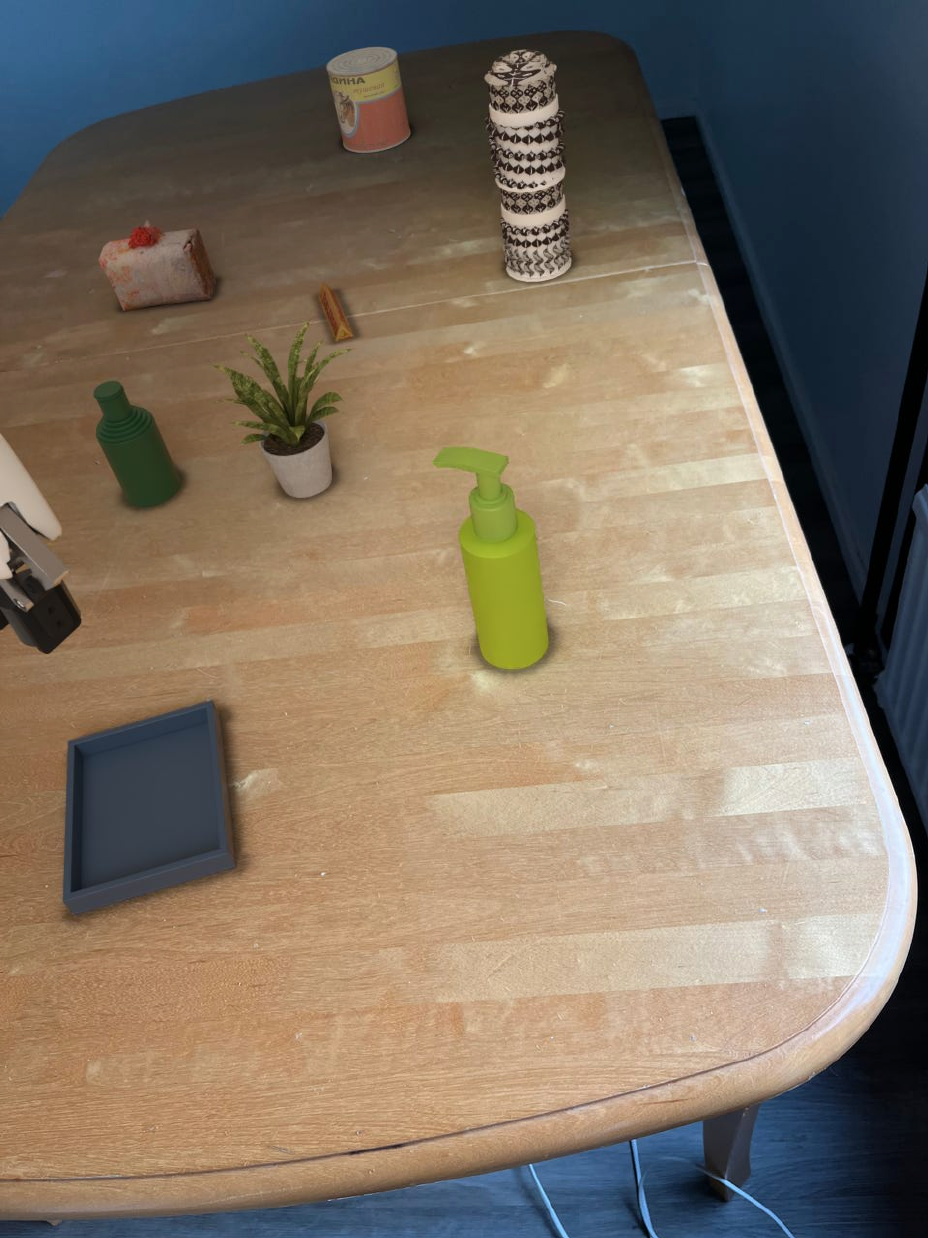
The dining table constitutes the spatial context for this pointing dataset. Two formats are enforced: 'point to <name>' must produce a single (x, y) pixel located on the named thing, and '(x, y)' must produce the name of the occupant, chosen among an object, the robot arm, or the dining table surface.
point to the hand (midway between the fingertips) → (36, 624)
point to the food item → (158, 268)
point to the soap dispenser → (500, 563)
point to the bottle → (134, 448)
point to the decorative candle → (529, 164)
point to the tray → (146, 808)
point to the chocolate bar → (334, 313)
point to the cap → (6, 605)
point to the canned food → (369, 99)
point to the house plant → (289, 418)
